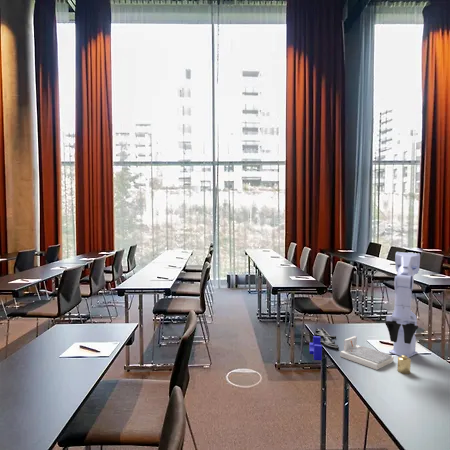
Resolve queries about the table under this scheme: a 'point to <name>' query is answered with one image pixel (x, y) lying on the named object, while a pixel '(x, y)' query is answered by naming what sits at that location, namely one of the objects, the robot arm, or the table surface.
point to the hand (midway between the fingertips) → (400, 342)
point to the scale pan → (370, 354)
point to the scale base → (352, 344)
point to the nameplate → (326, 339)
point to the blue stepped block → (316, 348)
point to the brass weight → (404, 364)
